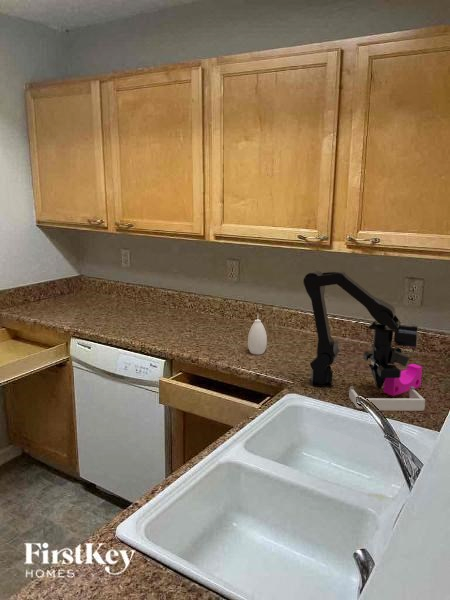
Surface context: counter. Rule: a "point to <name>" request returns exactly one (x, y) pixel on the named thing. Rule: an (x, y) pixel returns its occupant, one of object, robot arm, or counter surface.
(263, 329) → the sauce bottle
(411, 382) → the toy block
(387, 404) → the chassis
